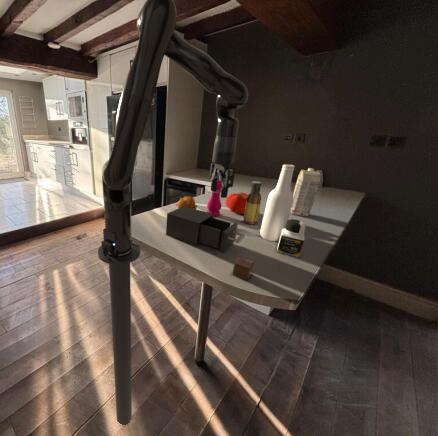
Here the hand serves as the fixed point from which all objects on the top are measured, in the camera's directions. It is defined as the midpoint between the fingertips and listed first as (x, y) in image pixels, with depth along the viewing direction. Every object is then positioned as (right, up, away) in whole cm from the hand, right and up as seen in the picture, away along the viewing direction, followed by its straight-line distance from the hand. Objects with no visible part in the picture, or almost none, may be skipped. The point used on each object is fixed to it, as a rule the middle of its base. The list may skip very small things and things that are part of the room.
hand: (218, 194), depth 88 cm
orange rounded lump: (-6, -7, +34) cm, 36 cm away
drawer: (0, -19, +2) cm, 19 cm away
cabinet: (-9, -16, +10) cm, 21 cm away
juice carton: (+55, -7, +37) cm, 67 cm away
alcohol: (+25, -17, +10) cm, 32 cm away
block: (+3, -27, -15) cm, 31 cm away
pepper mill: (+8, -7, +34) cm, 35 cm away
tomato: (+23, -6, +38) cm, 44 cm away
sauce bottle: (+23, -11, +24) cm, 35 cm away
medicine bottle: (+26, -22, 0) cm, 34 cm away
